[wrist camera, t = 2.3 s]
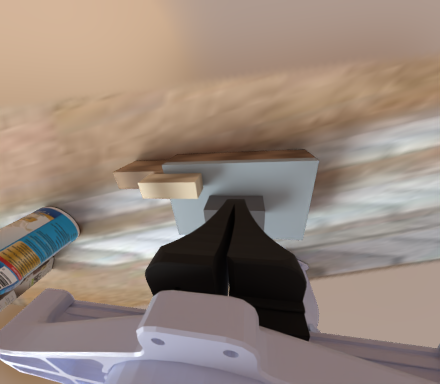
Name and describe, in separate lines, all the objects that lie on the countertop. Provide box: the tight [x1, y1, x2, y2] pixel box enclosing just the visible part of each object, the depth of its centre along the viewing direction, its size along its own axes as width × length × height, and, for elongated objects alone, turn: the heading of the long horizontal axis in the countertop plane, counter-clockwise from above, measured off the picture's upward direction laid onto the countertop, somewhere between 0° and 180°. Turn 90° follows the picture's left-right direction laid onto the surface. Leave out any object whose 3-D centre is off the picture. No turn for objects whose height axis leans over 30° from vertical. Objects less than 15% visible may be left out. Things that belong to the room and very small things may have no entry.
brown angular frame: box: [113, 149, 315, 189], centre depth 21 cm, size 22×10×4 cm, turn 94°
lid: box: [162, 158, 319, 240], centre depth 18 cm, size 16×10×5 cm, turn 94°
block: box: [138, 173, 203, 199], centre depth 17 cm, size 6×2×2 cm, turn 94°
